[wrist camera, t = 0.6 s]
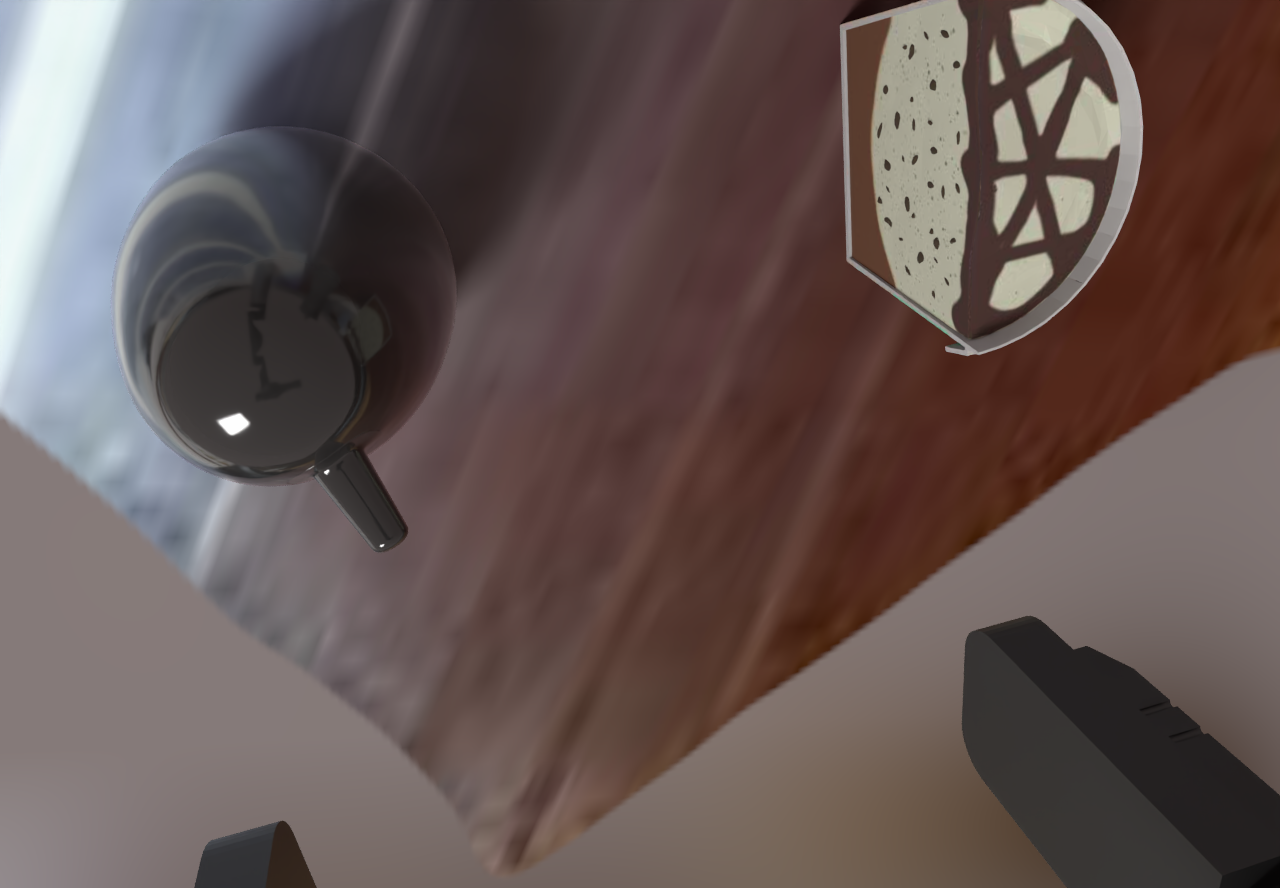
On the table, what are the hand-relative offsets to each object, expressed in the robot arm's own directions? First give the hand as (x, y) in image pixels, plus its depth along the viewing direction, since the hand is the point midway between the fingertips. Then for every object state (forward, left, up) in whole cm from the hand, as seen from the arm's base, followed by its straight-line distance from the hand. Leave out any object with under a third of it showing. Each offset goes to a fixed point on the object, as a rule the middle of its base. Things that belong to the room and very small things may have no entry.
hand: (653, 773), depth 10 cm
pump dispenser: (0, -6, -28) cm, 28 cm away
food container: (-5, +18, -28) cm, 34 cm away
